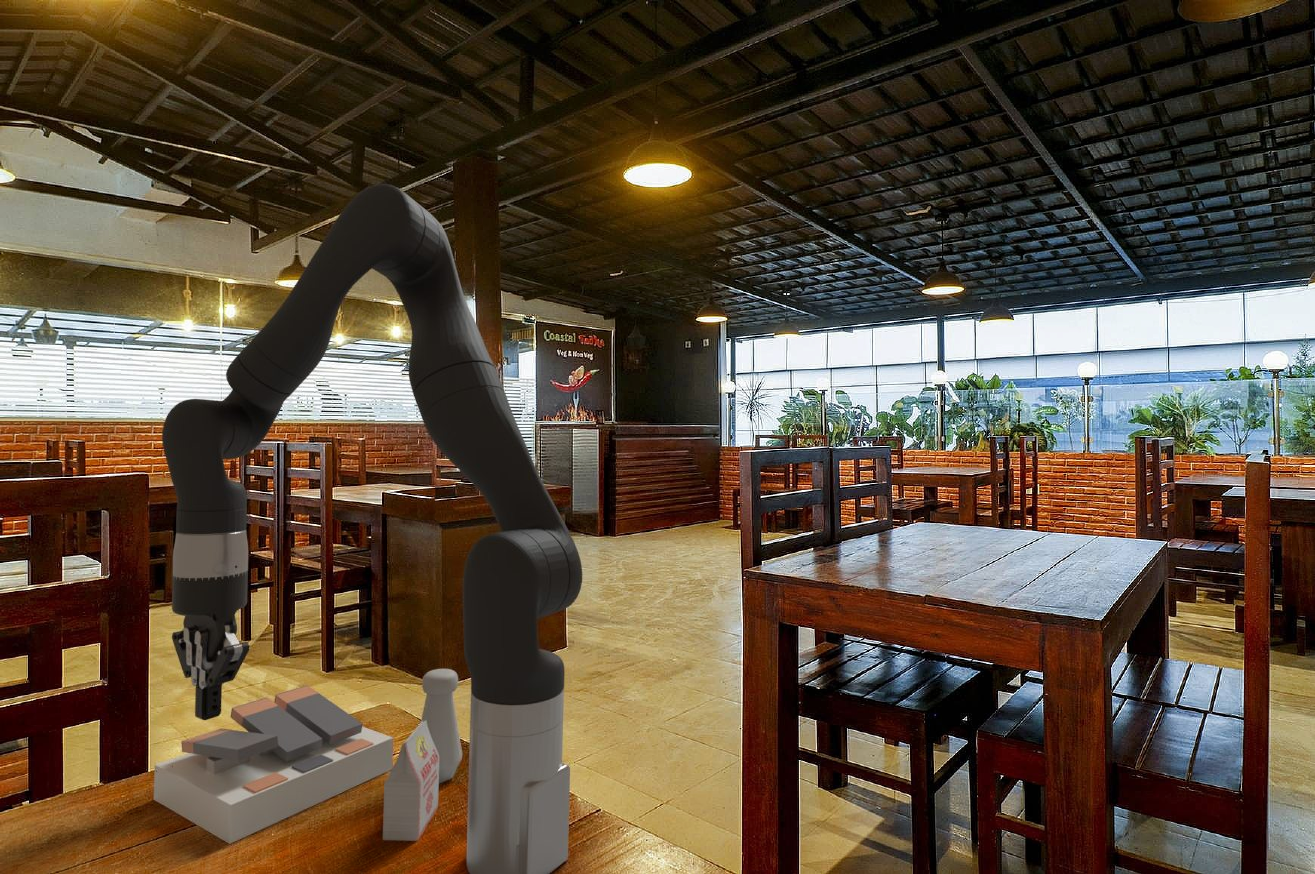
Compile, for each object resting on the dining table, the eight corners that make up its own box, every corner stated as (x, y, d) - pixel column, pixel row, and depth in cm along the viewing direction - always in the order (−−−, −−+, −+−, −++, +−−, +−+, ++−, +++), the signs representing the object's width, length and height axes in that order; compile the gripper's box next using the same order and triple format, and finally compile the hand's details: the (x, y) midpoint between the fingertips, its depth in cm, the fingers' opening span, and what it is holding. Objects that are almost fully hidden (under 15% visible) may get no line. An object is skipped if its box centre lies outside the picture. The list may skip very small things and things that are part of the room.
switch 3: (361, 732, 90) (362, 723, 90) (329, 745, 86) (330, 735, 86) (306, 693, 96) (307, 685, 96) (274, 703, 92) (275, 694, 92)
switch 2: (321, 748, 85) (322, 738, 85) (285, 762, 82) (287, 752, 81) (265, 706, 91) (267, 697, 91) (230, 717, 88) (231, 707, 88)
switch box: (392, 769, 90) (393, 726, 90) (229, 844, 73) (231, 791, 73) (315, 738, 99) (316, 699, 99) (153, 799, 81) (154, 752, 81)
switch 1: (278, 746, 80) (277, 735, 81) (238, 761, 77) (237, 749, 77) (221, 738, 87) (220, 728, 87) (181, 752, 83) (181, 741, 83)
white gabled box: (382, 840, 75) (385, 744, 75) (405, 806, 81) (408, 719, 82) (417, 841, 75) (420, 745, 75) (438, 807, 81) (440, 720, 82)
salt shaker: (453, 788, 86) (456, 680, 86) (406, 786, 86) (409, 678, 86) (467, 766, 92) (469, 665, 92) (423, 764, 92) (425, 663, 92)
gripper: (274, 570, 84) (271, 718, 84) (214, 559, 91) (211, 696, 90) (207, 580, 77) (204, 741, 77) (147, 568, 84) (144, 715, 84)
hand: (207, 716), depth 84 cm, fingers closed
